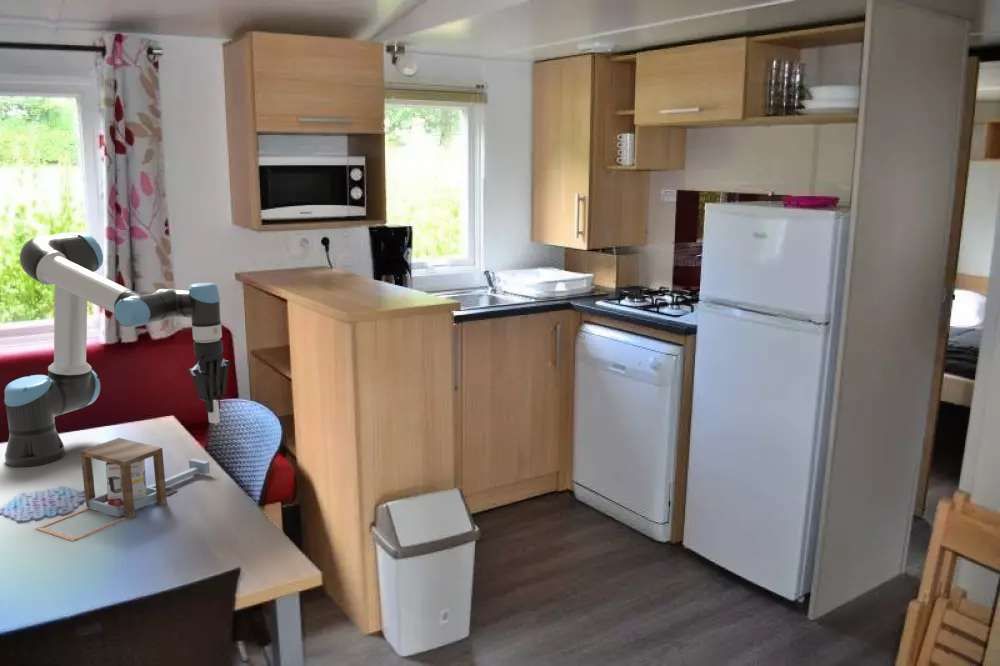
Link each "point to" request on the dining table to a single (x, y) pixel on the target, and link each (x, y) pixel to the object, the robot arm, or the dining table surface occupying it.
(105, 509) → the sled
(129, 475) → the tunnel frame
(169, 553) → the dining table surface
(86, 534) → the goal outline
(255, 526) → the dining table surface
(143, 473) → the ink box
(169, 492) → the pad
